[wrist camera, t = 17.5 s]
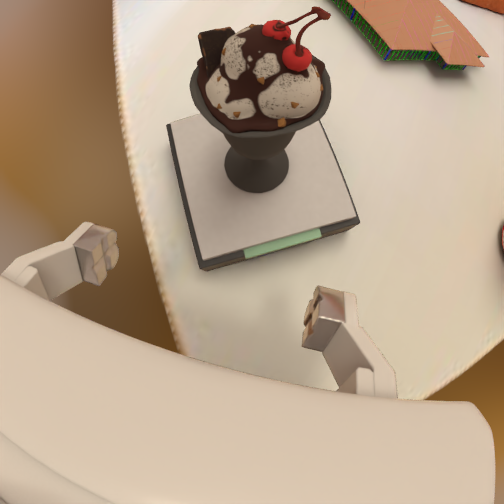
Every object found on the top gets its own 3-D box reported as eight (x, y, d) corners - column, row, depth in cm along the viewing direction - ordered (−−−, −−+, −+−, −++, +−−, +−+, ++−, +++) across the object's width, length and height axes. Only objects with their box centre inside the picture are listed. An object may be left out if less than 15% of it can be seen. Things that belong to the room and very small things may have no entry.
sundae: (313, 190, 22) (398, 49, 7) (227, 215, 21) (186, 78, 7) (283, 119, 22) (313, -39, 8) (204, 140, 22) (159, -18, 7)
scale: (349, 232, 25) (365, 223, 21) (206, 273, 25) (198, 271, 21) (301, 108, 27) (307, 86, 23) (173, 139, 26) (163, 119, 22)
